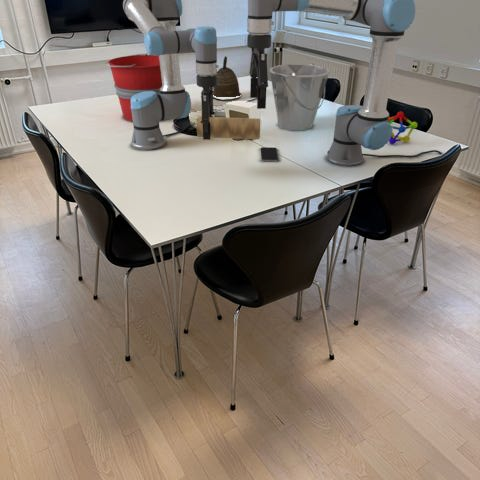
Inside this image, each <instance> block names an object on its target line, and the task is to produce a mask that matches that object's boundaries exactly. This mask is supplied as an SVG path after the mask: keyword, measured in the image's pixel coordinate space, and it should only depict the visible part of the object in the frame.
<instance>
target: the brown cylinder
mask: <svg viewBox="0 0 480 480" xmlns="http://www.w3.org/2000/svg"><path fill="white" fill-rule="evenodd" d="M196 120H197V121H196V134H197V135H196V136H197V138H203V123H201V121H202V116H197V119H196ZM204 120H205V119H204ZM209 121H210V139H235V140H236V139H237V140H260V139H261V138H260V137H261V118H255V117H253V118H252V117H251V118H250V117H228V116H227V117H224V116H213V117H210V119H209Z"/></svg>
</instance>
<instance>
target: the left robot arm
mask: <svg viewBox="0 0 480 480" xmlns="http://www.w3.org/2000/svg"><path fill="white" fill-rule="evenodd" d="M122 8H123V12H124V14H125V15H126V17H127V18H128V20H130V21H132V22H133V23H134V24H135V25H136V27H137V28H138V29H139V30H140V33H142V35H143V44H144V49H145V51H146V53H147V55H158V56H159V62H160V71H161V80H162V87H161V88H160V89H159V92H160V94H158V95H157V94H156V92H154V91H145V92H140V93H137V94H135V95H133V96H132V97H131V110H132V118H133V122H132V125H133V132H132V135H131V142H130V143H131V147H132V148H134V149H135V150H141V151H151V150H153V151H154V150H157V149H161V148H163V147H164V146H165V144H166V140H165V137H169V136H173V135H177V134H180V133H183V132H184V131H185V130H186V129H188V128H189V127H191V126H192V125H191V123H189V124H188V125H187V126H185V127H184V128H183V129H181V130H179V131H176V132H171V133H167V134H163V132H162V130H161V127H160V122H164V121H171V120H172V121H173V120H180V119H183V118H185V119H186V118H187V117H188V116H189V114H190V112H191V108H192V99H191V95H190V93H189V92H188V91H187V90H186V87H185V86H184V85H183V84H182V78H181V69H180V59H179V54H190V53H191V54H192V53H193V54H195V74H197V75H196V77H195V78H196V86H197V87H199V88H202V89H201V91H200V99H201V117H202V121H201V123H203V137H202V140H207V141H210V140H211V138H210V121H209V119H210V117H214V116H215V115H216V112H213V111H215V110H214V98H213V87H215V86H217V75H216V73H217V71H218V68H219V65H218V44H217V43H218V37H217V36H218V35H217V29H216V28H215V27H213V26H206V25H205V26H202V25H201V26H197V27H195V28H190V27H189V28H187V29H185V30H177V28H176V26H177V24H178V23H179V18H180V17H181V16H182V14H183V3H182V0H123V1H122ZM255 100H256V101H257V98H251V99H248V100H247V101H249V102H253V101H255ZM204 119H205V120H204Z"/></svg>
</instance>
